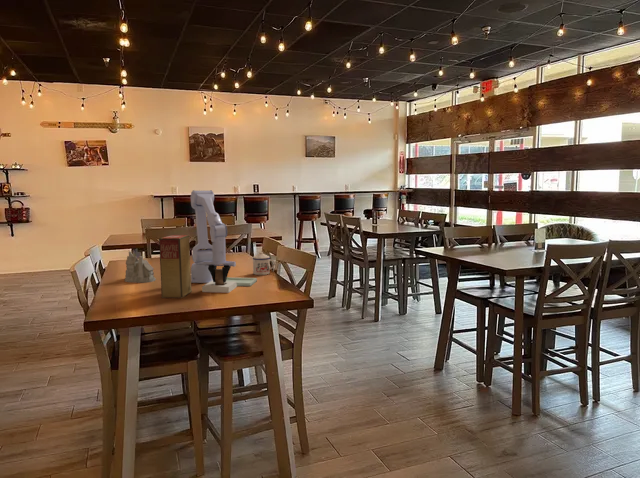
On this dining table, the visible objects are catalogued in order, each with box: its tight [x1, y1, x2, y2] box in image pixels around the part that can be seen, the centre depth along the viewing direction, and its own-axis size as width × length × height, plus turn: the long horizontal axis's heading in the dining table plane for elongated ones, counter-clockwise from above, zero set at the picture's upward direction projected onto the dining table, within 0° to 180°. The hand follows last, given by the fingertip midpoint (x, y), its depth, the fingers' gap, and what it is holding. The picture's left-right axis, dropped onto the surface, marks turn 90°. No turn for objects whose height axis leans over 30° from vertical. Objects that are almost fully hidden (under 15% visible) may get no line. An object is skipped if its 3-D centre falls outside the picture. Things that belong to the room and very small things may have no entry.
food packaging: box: [158, 234, 192, 299], centre depth 200 cm, size 13×9×25 cm
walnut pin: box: [215, 268, 224, 285], centre depth 211 cm, size 4×4×9 cm
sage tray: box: [226, 276, 258, 287], centre depth 225 cm, size 16×12×2 cm
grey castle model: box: [124, 251, 157, 284], centre depth 233 cm, size 16×16×15 cm
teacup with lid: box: [252, 251, 276, 276], centre depth 249 cm, size 12×9×12 cm
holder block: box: [201, 281, 238, 294], centre depth 212 cm, size 12×12×2 cm
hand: (219, 281), depth 211 cm, fingers closed on walnut pin, 4 cm apart
